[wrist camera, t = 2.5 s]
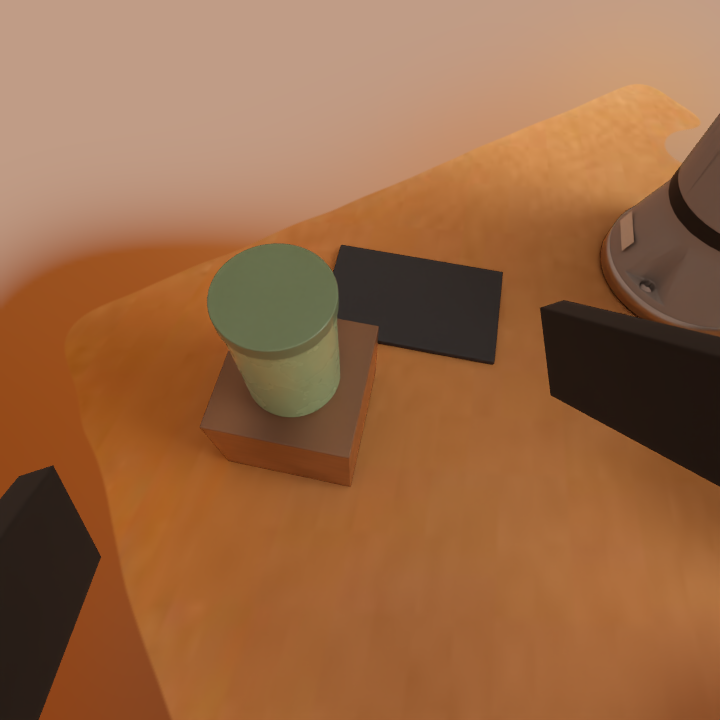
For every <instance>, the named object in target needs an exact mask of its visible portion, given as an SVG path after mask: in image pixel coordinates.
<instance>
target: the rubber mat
mask: <svg viewBox="0 0 720 720" xmlns="http://www.w3.org/2000/svg"><path fill="white" fill-rule="evenodd" d="M333 274H334V276H335V278H336V282H337V285H338V294H339V309H338V314H337V319H342V320H347V321H353V322H358V323H364V324H369V325H374V326H379V332H378V343H380V344H385V345H391V346H396V347H401V348H407V349H412V350H417V351H423V352H428V353H433V354H439V355H444V356H449V357H455V358H460V359H466V360H471V361H476V362H482V363H487V364H492V365H493V364H494V361H495V351H496V340H497V329H498V318H499V308H500V297H501V286H502V275H503V272H499V271H493V270H487V269H481V268H475V267H469V266H463V265H458V264H452V263H446V262H440V261H434V260H428V259H422V258H416V257H410V256H405V255H399V254H393V253H387V252H381V251H375V250H369V249H363V248H357V247H352V246H346V245H341V247H340V250H339V254H338V257H337V261H336V264H335V268H334V271H333Z"/></svg>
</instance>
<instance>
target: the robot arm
mask: <svg viewBox="0 0 720 720" xmlns="http://www.w3.org/2000/svg"><path fill="white" fill-rule="evenodd" d="M600 258H601V266H602V271H603V274H604V276H605V279H606V281H607V283H608V285H609V286H610V288H611V290H612V291H613V292H614V294H615V295H616V296H617V298H618V299H619V300H620V301H621V302H622V303H623V304H624V305H625V306H626V307H627V308H628V309H629V310H631V311H632V312H633V313H634V314H636V315H637V316H638V317H640V318H637V317H633V316H629V315H625V314H620V313H616V312H612V311H608V310H603V309H599V308H595V307H591V306H586V305H582V304H578V303H574V302H569V301H565V300H563V301H560V302H557V303H554V304H550V305H547V306H544V307H541V308H540V311H541V319H542V327H543V335H544V344H545V352H546V360H547V368H548V377H549V385H550V393H551V396H553V397H555V398H557V399H559V400H561V401H562V402H564V403H566V404H568V405H570V406H572V407H574V408H575V409H577V410H579V411H581V412H583V413H585V414H586V415H588V416H590V417H592V418H594V419H596V420H598V421H599V422H601V423H603V424H605V425H607V426H609V427H611V428H612V429H614V430H616V431H618V432H620V433H622V434H623V435H625V436H627V437H629V438H631V439H633V440H635V441H636V442H638V443H640V444H642V445H644V446H646V447H648V448H649V449H651V450H653V451H655V452H657V453H659V454H661V455H662V456H664V457H666V458H668V459H670V460H672V461H673V462H675V463H677V464H679V465H681V466H683V467H685V468H686V469H688V470H690V471H692V472H694V473H696V474H698V475H699V476H701V477H703V478H705V479H707V480H709V481H711V482H712V483H714V484H716V485H718V486H720V114H719V115H718V117H717V118H716V119H715V121H714V122H713V123H712V125H711V126H710V127H709V128H708V130H707V131H706V132H705V134H704V135H703V137H702V138H701V139H700V140H699V142H698V143H697V144H696V146H695V147H694V148H693V150H692V151H691V153H690V154H689V155H688V156H687V158H686V159H685V161H684V162H683V163H682V165H681V166H680V167H679V169H678V170H677V171H676V173H675V174H674V175H673V177H672V178H671V179H670V180H669V181H668V182H666V183H665V184H664V185H662V186H661V187H659V188H658V189H657V190H655V191H654V192H653V193H651V194H650V195H649V196H647V197H646V198H645V199H643V200H642V201H641V202H639V203H638V204H637V205H635V206H634V207H632V208H630V209H628V210H627V211H625V212H624V213H623V214H622V215H621V216H620V217H619V218H618V219H617V221H616V222H615V223H614V225H613V226H612V228H611V229H610V231H609V232H608V234H607V235H606V237H605V239H604V241H603V244H602V248H601V256H600ZM100 558H101V556H100V554H99V552H98V550H97V548H96V546H95V544H94V543H93V541H92V539H91V537H90V535H89V533H88V531H87V529H86V527H85V525H84V523H83V521H82V520H81V518H80V516H79V514H78V512H77V510H76V508H75V506H74V504H73V503H72V500H71V499H70V497H69V495H68V493H67V491H66V489H65V487H64V485H63V483H62V482H61V479H60V478H59V476H58V474H57V472H56V470H55V468H54V466H50V467H46V468H44V469H40V470H37V471H34V472H31V473H28V474H25V475H22V476H19V477H18V478H17V479H16V481H15V482H14V483H13V484H12V485H11V487H10V488H9V489H8V490H7V491H6V493H5V494H4V495H3V496H2V497H1V499H0V720H39V717H40V715H41V712H42V710H43V707H44V704H45V702H46V699H47V696H48V694H49V691H50V689H51V686H52V683H53V681H54V678H55V676H56V673H57V670H58V667H59V665H60V662H61V660H62V657H63V655H64V652H65V649H66V647H67V644H68V642H69V639H70V636H71V634H72V631H73V629H74V626H75V623H76V621H77V618H78V615H79V613H80V610H81V608H82V605H83V602H84V600H85V597H86V595H87V592H88V589H89V587H90V584H91V582H92V579H93V576H94V574H95V571H96V568H97V566H98V563H99V561H100Z"/></svg>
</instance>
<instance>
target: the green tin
mask: <svg viewBox="0 0 720 720" xmlns="http://www.w3.org/2000/svg"><path fill="white" fill-rule="evenodd" d="M207 307H208V313H209V316H210V319H211V321H212V323H213V325H214V327H215V329H216V331H217V333H218V335H219V336H220V337H221V339H222V340H223V341H224V342H225V343H226V345H227V347H228V349H229V351H230V353H231V355H232V357H233V359H234V361H235V363H236V365H237V367H238V369H239V371H240V373H241V375H242V377H243V379H244V381H245V383H246V386H247V388H248V390H249V392H250V394H251V396H252V397H253V399H254V400H255V402H256V403H257V404H258V405H259V406H260V407H262V408H263V409H264V410H266V411H268V412H270V413H272V414H274V415H278V416H282V417H300V416H304V415H308V414H310V413H313V412H315V411H317V410H318V409H320V408H321V407H323V406H324V405H325V404H326V403H327V402H328V401H329V400H330V399H331V398H332V397H333V395H334V394H335V392H336V390H337V388H338V385H339V381H340V372H341V371H340V355H339V340H338V324H337V314H338V309H339V294H338V285H337V282H336V278H335V276H334V274H333V272H332V270H331V269H330V267H329V266H328V265H327V264H326V263H325V262H324V260H322V259H321V258H320V257H319V256H317V255H316V254H314V253H313V252H311V251H309V250H307V249H305V248H302V247H299V246H295V245H290V244H265V245H260V246H256V247H253V248H250V249H247V250H245V251H243V252H241V253H239V254H237V255H236V256H234V257H233V258H231V259H230V260H229V261H227V262H226V263H225V264H224V265H223V266H222V267H221V268H220V269H219V271H218V272H217V274H216V275H215V276H214V278H213V280H212V282H211V285H210V288H209V291H208V297H207Z"/></svg>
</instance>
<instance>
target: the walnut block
mask: <svg viewBox="0 0 720 720" xmlns="http://www.w3.org/2000/svg"><path fill="white" fill-rule="evenodd" d="M337 324H338V340H339V355H340V371H341V372H340V381H339V385H338V388H337V390H336V392H335V394H334V395H333V397H332V398H331V399H330V400H329V401H328V402H327V403H326V404H325V405H324V406H323V407H321V408H320V409H318V410H317V411H315V412H313V413H310V414H308V415H304V416H300V417H282V416H278V415H274V414H272V413H270V412H268V411H266V410H264V409H263V408H262V407H260V406H259V405H258V404H257V403H256V402H255V400H254V399H253V397H252V396H251V394H250V392H249V390H248V388H247V386H246V383H245V381H244V379H243V377H242V375H241V373H240V371H239V369H238V367H237V365H236V363H235V361H234V359H233V357H232V355H231V353H230V351H228V354H227V356H226V359H225V361H224V364H223V367H222V369H221V372H220V375H219V377H218V380H217V383H216V385H215V388H214V390H213V393H212V396H211V398H210V401H209V404H208V406H207V409H206V411H205V414H204V417H203V419H202V422H201V425H200V428H201V429H202V430H203V432H204V433H205V434H206V435H207V436H208V437H209V439H210V440H211V441H212V442H213V443H214V444H215V446H216V447H217V448H218V449H219V450H220V451H221V453H222V454H223V455H224V456H225V457H226V458H227V460H228V461H233V462H237V463H242V464H247V465H251V466H256V467H261V468H265V469H270V470H275V471H279V472H284V473H289V474H293V475H298V476H303V477H307V478H312V479H317V480H321V481H326V482H331V483H336V484H340V485H345V486H351V483H352V478H353V473H354V469H355V464H356V459H357V455H358V450H359V446H360V441H361V436H362V432H363V427H364V423H365V418H366V413H367V409H368V404H369V400H370V395H371V390H372V386H373V381H374V376H375V368H376V356H377V344H378V332H379V326H374V325H369V324H364V323H358V322H353V321H347V320H342V319H337Z"/></svg>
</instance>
